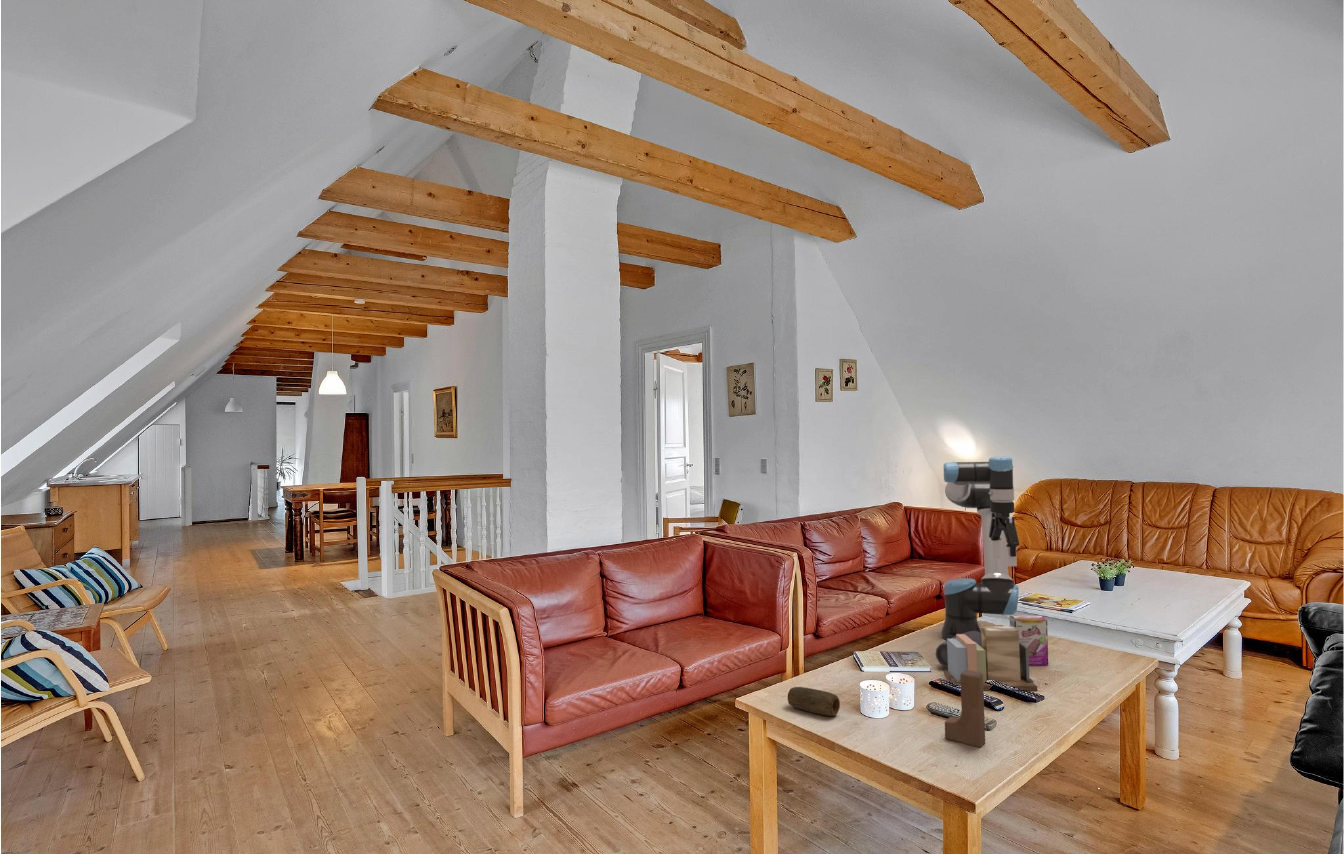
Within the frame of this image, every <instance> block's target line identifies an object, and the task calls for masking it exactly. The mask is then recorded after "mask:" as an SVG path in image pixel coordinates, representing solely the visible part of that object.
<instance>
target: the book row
mask: <svg viewBox="0 0 1344 854" xmlns="http://www.w3.org/2000/svg"><path fill="white" fill-rule="evenodd" d="M946 641H947V654H948V668H947V671H948V672H949V673H950V674H951V675H952V676H953V677H954V678H955V679H956V681H957V682H961V679H960V674H961V673H962V672H964V671H965V670H970V671H975V672H981V673H982V674H983V682H986V681H987V678H986V652H985V650H984V649H983V648H982V647H981V646H979V645H978V644H977V643H976V642H974V641H972V640H971V639H970V638H969V637H967V636H966V635H965V634H956V639H947V640H946Z"/></svg>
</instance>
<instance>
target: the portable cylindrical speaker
mask: <svg viewBox="0 0 1344 854" xmlns="http://www.w3.org/2000/svg"><path fill="white" fill-rule="evenodd" d="M787 703H788V705H791V706H792V707H794V708H795V707H796V709H798V708H799V710H801V709H802V711H804V710H805V712H808V711H809V713H812V712H813V714H816V713H817V715H820V714H821V716H822V715H823V716H828V717H835V716H836V715H837V714H838V713H839V711H840V708H841V707H840V706H841V701H840V697H838V695H837V694H835V693H832V692H829V691H825V690H820V689H816V688H809V687H805V686H804V687H803V686H794V687H790V689H789V691H788V692H787Z"/></svg>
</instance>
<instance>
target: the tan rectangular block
mask: <svg viewBox="0 0 1344 854" xmlns="http://www.w3.org/2000/svg"><path fill="white" fill-rule="evenodd" d="M980 629H981V634H982V648H983V649H984V650H985V652H986V678H987V680H995V681H1021V678H1020V653H1019V630H1017V629H1016V628H1014V627H1010V626H989V625H988V626H980Z"/></svg>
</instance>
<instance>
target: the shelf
mask: <svg viewBox="0 0 1344 854" xmlns="http://www.w3.org/2000/svg"><path fill="white" fill-rule="evenodd" d="M943 675H944V676H945V678H946V679H947V680H948V681H949V680H950V681H951V682H953V683H954V684H956V685H958V686H961V682H957V681H956V679H955V678H954V677H953V676H952V675H951V674H950V673H949V672H948V670H943ZM950 681H949V682H950ZM951 682H950V683H951ZM997 682H1001V683H1003V684H1007V685H1009V686H1013V687H1015V688H1020V689H1022V690H1027V691H1026V692H1037V691H1038V685H1036V684H1035V683H1027V682H1025V681H1024V680H1023V679H1022V678H1021V681H997ZM992 686H993V685H990V684H987V683H985V682H983V691H988V690H989V689H990V688H991V687H992Z"/></svg>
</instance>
